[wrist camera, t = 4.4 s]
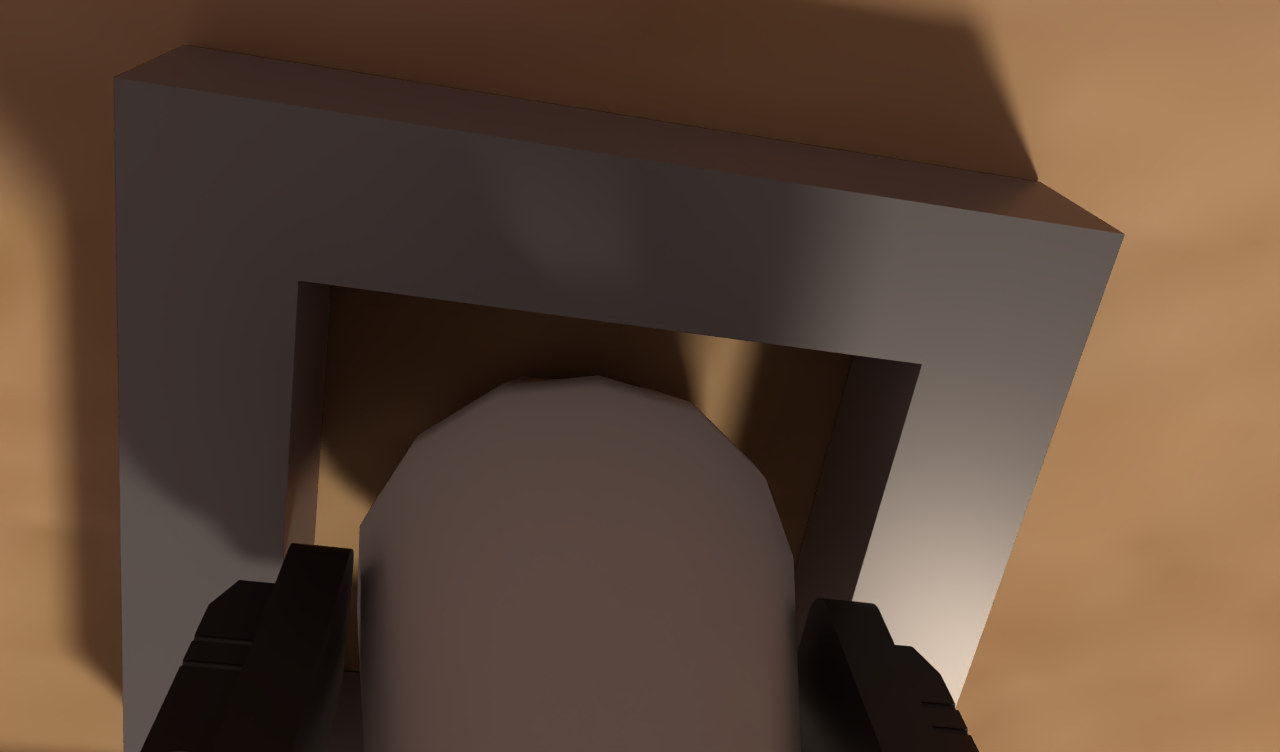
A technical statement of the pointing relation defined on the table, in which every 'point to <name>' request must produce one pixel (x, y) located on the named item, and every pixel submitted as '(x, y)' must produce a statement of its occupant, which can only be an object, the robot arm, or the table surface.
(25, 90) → the table surface
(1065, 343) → the collar
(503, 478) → the salt shaker
